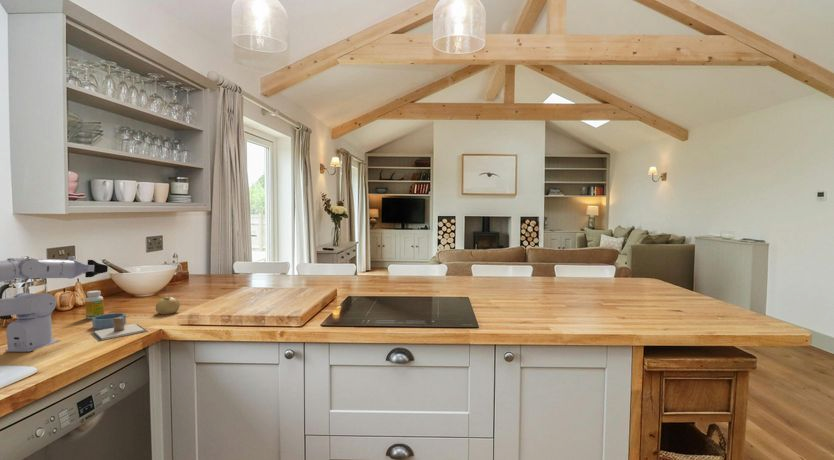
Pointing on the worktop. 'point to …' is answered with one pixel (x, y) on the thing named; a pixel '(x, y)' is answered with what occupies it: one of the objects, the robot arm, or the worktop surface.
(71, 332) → the worktop surface
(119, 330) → the cover
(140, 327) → the mat
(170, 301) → the onion
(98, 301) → the supplement bottle
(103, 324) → the bowl
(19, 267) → the robot arm
